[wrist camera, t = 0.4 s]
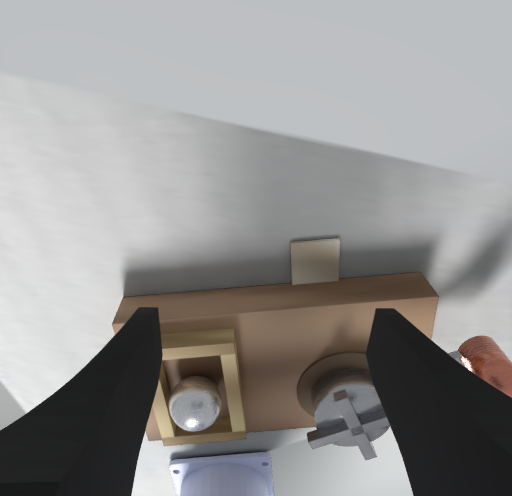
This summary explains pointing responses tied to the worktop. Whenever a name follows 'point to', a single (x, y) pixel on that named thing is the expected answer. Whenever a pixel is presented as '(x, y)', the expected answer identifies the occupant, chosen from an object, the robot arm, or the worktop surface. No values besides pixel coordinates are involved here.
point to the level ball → (195, 403)
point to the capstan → (368, 403)
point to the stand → (272, 340)
